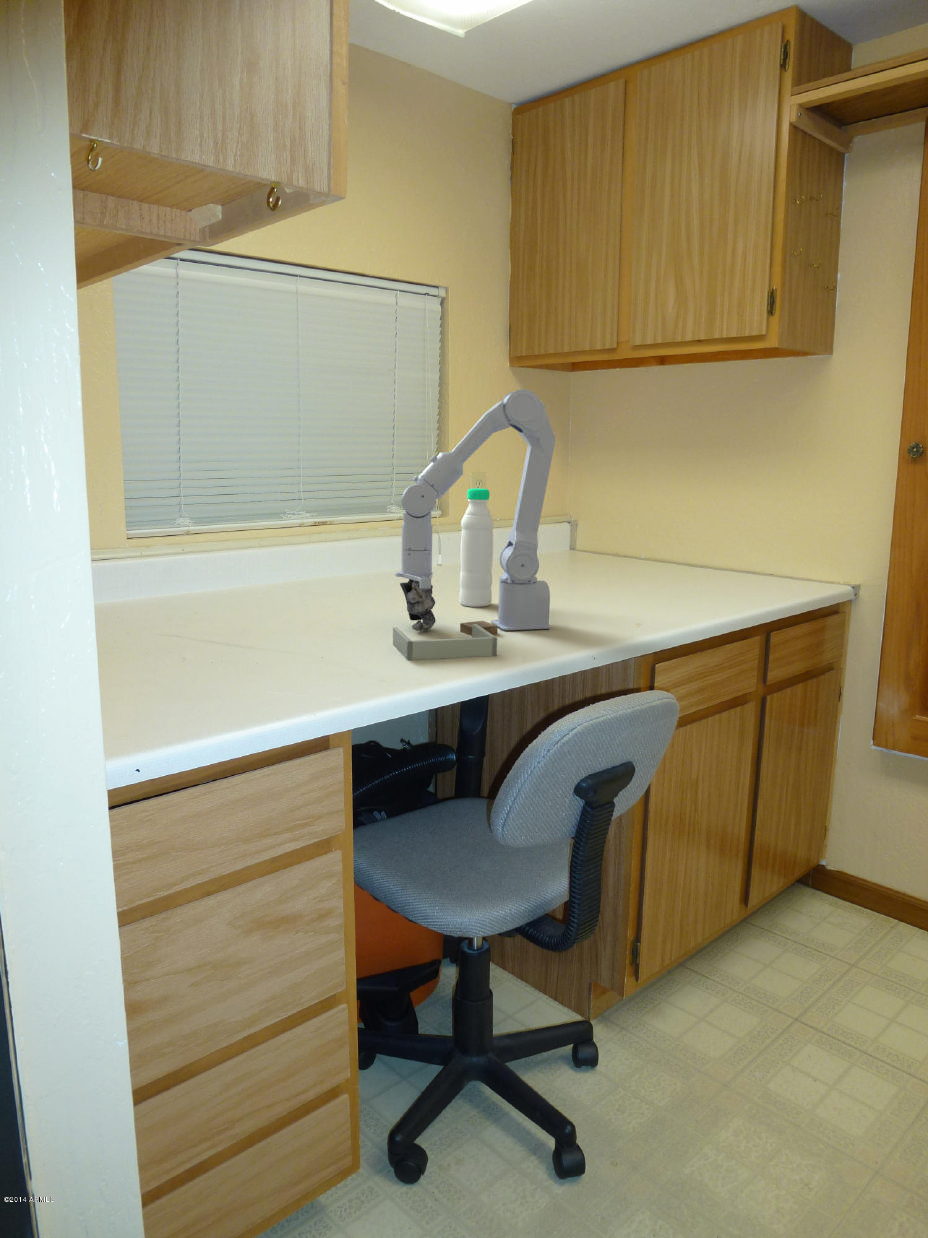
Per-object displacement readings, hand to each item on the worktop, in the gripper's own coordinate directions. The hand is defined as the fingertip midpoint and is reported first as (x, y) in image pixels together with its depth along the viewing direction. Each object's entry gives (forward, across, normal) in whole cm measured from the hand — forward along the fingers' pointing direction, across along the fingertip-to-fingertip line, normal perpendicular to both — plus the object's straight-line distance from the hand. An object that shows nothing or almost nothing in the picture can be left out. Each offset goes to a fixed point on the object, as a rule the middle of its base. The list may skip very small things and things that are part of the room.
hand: (415, 619), depth 165 cm
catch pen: (+1, +20, 0) cm, 20 cm away
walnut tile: (+2, +8, +10) cm, 13 cm away
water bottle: (+1, -19, +18) cm, 26 cm away
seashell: (+1, +4, 0) cm, 4 cm away
